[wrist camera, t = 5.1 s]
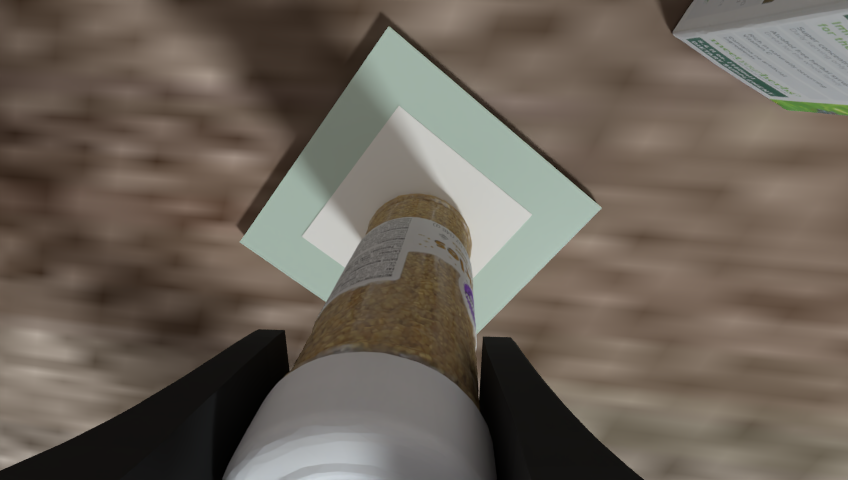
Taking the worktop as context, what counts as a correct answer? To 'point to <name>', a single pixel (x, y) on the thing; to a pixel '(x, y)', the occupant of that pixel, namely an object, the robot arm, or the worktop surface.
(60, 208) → the worktop surface
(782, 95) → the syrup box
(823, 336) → the worktop surface
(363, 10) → the worktop surface
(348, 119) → the green white square tile
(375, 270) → the sprinkles bottle
